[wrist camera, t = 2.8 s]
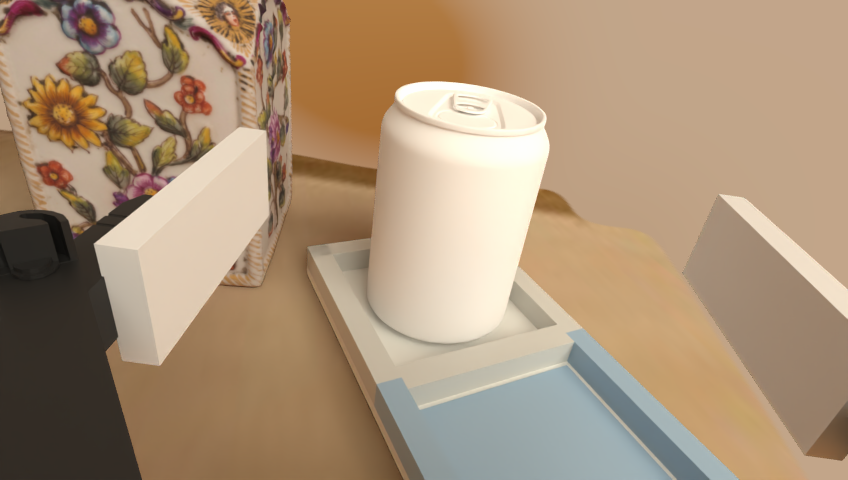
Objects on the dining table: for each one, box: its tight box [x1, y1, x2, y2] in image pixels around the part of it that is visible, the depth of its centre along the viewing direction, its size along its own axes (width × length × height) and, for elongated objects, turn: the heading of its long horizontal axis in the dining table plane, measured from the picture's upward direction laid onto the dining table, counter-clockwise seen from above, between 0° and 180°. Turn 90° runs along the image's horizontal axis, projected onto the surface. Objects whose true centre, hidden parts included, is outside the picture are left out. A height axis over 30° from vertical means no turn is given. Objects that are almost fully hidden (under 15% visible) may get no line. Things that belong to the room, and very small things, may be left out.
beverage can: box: [367, 82, 549, 344], centre depth 27 cm, size 8×8×12 cm
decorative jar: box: [0, 0, 292, 287], centre depth 29 cm, size 12×12×18 cm
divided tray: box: [307, 238, 739, 480], centre depth 25 cm, size 23×12×2 cm, turn 26°
